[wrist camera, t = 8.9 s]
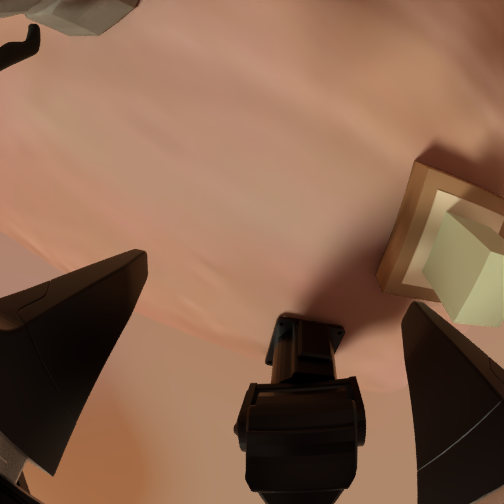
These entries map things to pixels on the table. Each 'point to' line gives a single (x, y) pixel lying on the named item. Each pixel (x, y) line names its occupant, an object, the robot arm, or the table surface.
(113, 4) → the coffeepot
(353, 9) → the table surface
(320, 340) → the robot arm
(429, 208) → the walnut base
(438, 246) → the sage block
